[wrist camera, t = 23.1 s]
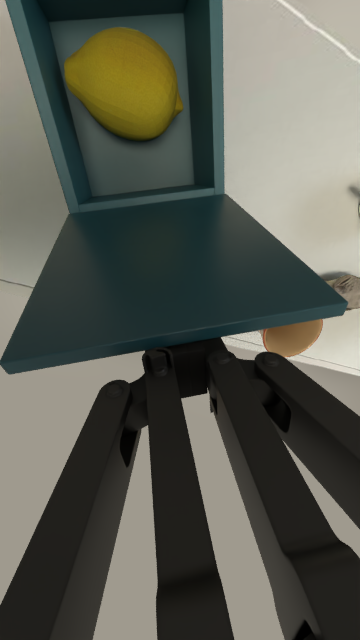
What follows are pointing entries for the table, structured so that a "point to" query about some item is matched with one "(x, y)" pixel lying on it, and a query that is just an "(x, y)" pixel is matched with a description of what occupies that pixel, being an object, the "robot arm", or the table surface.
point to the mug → (291, 337)
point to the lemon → (125, 83)
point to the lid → (162, 283)
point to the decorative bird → (348, 289)
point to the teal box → (100, 144)
